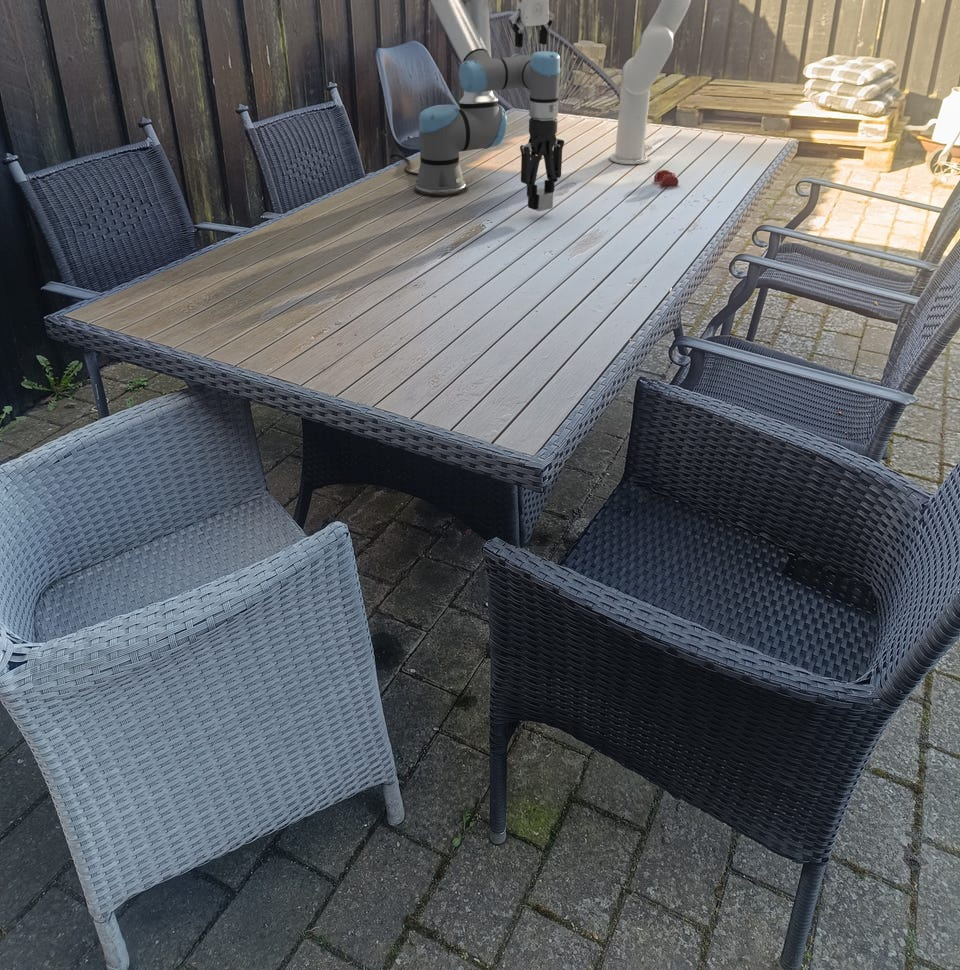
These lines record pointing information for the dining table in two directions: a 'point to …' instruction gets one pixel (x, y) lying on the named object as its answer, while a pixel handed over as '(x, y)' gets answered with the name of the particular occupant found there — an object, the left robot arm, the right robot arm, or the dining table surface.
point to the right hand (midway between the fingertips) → (531, 45)
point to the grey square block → (544, 199)
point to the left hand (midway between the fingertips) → (540, 206)
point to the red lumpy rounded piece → (666, 178)
